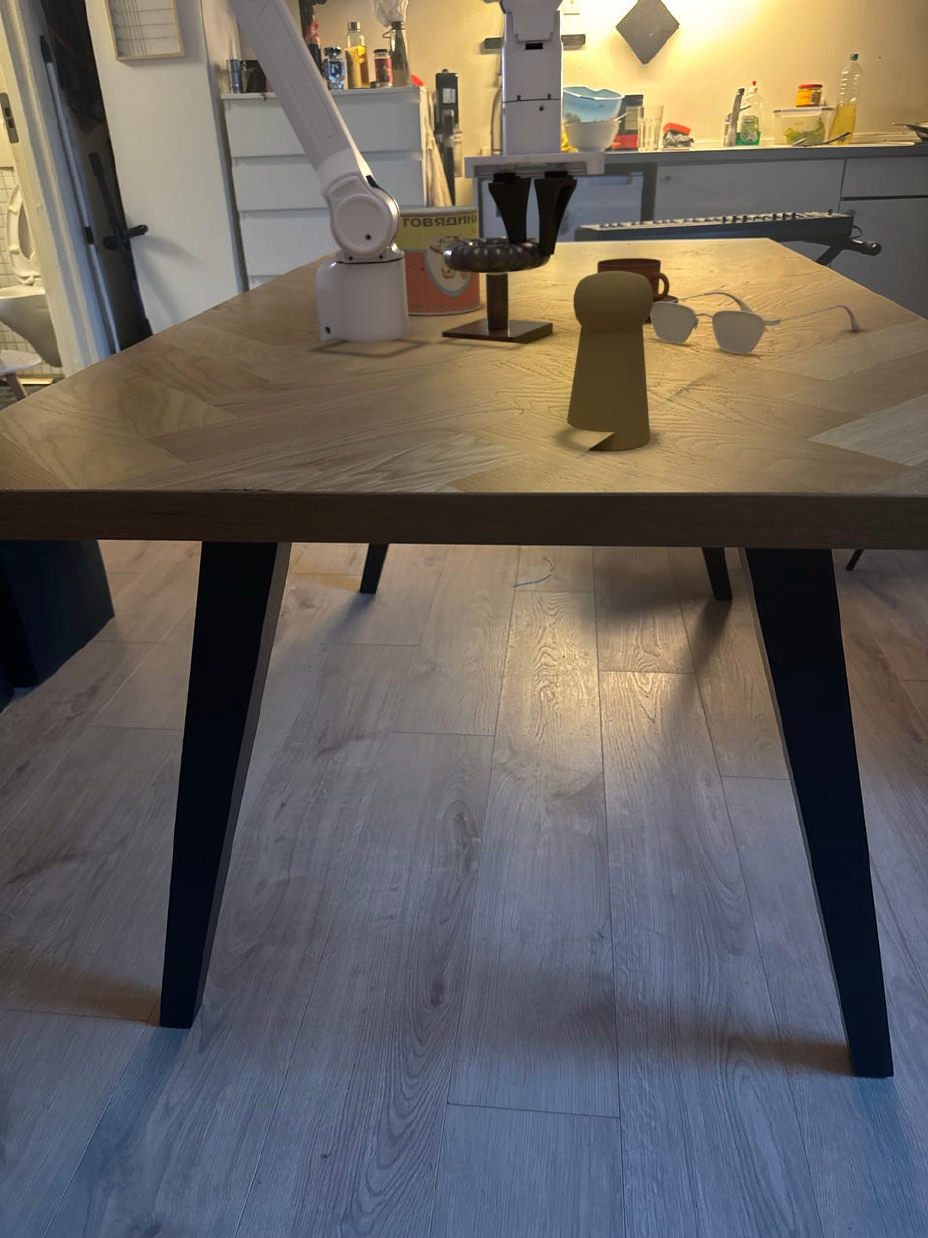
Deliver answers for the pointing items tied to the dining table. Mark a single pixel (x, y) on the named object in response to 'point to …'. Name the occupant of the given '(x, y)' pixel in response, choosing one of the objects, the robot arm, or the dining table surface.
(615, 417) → the cork
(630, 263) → the cup and saucer
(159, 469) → the dining table surface
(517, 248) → the ring
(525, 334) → the stand
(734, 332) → the eyeglasses
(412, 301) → the canned food
